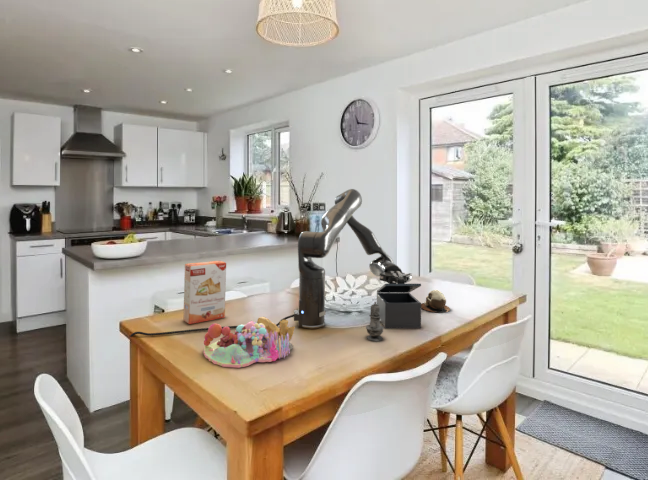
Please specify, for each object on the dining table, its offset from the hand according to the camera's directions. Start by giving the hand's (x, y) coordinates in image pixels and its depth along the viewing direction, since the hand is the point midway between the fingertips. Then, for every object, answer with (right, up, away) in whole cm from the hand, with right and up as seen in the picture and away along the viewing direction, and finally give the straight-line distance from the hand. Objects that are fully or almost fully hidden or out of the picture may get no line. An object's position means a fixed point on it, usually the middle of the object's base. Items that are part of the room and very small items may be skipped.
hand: (401, 282), depth 147 cm
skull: (+18, -16, +23) cm, 34 cm away
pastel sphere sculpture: (-50, -15, -25) cm, 58 cm away
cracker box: (-72, -15, +4) cm, 73 cm away
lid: (0, -4, +5) cm, 6 cm away
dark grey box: (-1, -16, +5) cm, 16 cm away
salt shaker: (-11, -16, -13) cm, 23 cm away
